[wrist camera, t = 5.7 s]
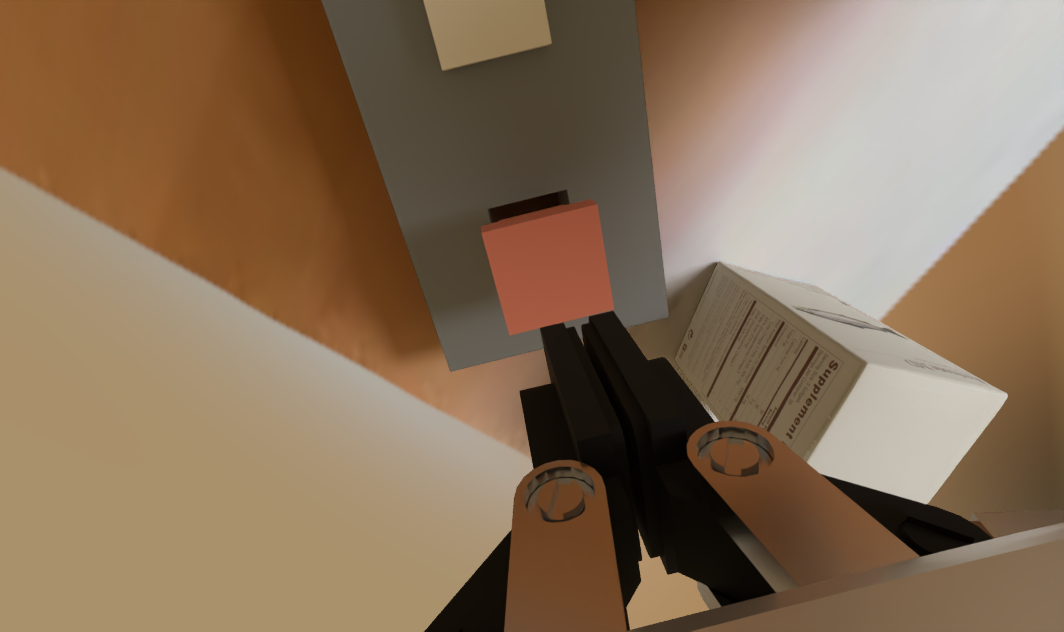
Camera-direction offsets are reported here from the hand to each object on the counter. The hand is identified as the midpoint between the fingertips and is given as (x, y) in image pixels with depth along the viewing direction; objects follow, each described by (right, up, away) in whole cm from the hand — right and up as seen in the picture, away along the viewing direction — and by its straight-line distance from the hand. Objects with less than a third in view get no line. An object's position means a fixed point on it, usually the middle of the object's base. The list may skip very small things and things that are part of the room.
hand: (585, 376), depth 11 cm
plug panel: (-3, +11, +14) cm, 18 cm away
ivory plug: (-3, +15, +11) cm, 19 cm away
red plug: (-1, +5, +11) cm, 12 cm away
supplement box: (+12, +1, +21) cm, 24 cm away
